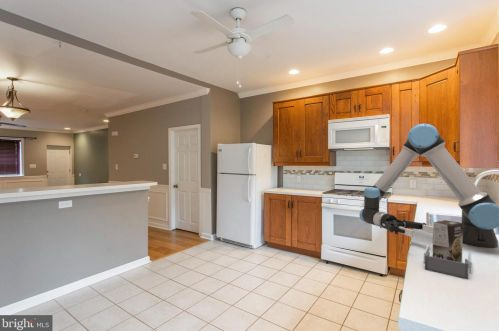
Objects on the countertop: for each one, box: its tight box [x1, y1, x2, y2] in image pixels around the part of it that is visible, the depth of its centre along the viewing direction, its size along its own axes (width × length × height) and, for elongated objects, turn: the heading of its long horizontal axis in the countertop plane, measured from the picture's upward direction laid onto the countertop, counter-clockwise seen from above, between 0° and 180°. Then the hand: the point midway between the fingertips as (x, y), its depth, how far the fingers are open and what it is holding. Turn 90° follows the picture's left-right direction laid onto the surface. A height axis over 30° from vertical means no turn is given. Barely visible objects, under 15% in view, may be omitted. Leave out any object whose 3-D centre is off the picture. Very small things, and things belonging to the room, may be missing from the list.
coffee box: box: [431, 219, 463, 263], centre depth 100 cm, size 9×6×16 cm
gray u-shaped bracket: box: [423, 243, 472, 280], centre depth 98 cm, size 20×14×5 cm
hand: (425, 232), depth 108 cm, fingers open, 13 cm apart
